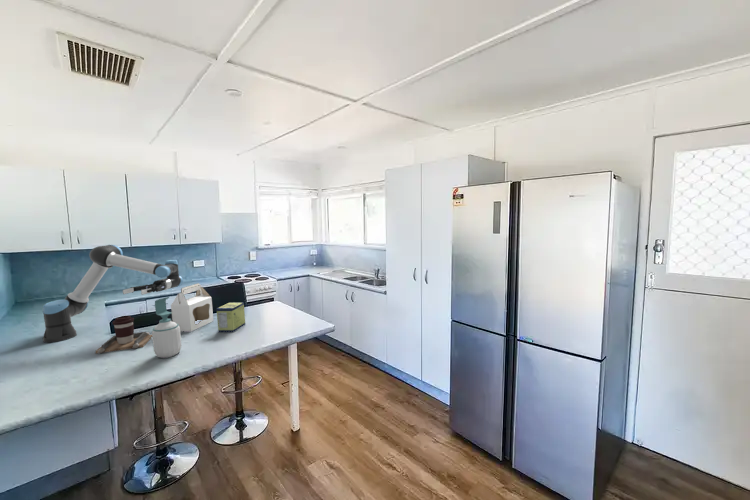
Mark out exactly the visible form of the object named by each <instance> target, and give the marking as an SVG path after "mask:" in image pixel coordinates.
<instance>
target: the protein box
mask: <svg viewBox="0 0 750 500" xmlns="http://www.w3.org/2000/svg"><path fill="white" fill-rule="evenodd" d="M216 317H217V319H216V320H217V329H218V331H217V332H218V333H235V332H236V331H238V330H239V329H241V328H242V327H244V326H246V315H245V303H244V302H241V301H240V302H235V301H233V302H228V303H226V304H224V305H221V306H219V307H216Z"/></svg>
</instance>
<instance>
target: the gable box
mask: <svg viewBox="0 0 750 500" xmlns="http://www.w3.org/2000/svg"><path fill="white" fill-rule="evenodd" d="M193 292H196V293H195V296H193V297H190V298H186V297H185V295H186V294H190V293H193ZM170 308H171V311H170V312H172V314H171V321H172V322H175V323H177V324H179V325H178V326H179V327H180V332H183V331H184V332H186V333H187V332H188V333H191V332H193V331H195V330H198V329H200V328H202V327H204V326H206V325H208V324H210V323H212V322H214V313H213V311H214V310H213V299H212V296H211V295H210V294H209V293H208V292H207V291H206V289H205V288H204V287H203V286H202V284H200V283H199V282H198V283H194V284H191V285H188V286H184V287H181V289H180V292H179V293H177V295H176V297H175V298H174V300H173V301H172V303H171V304H170ZM197 320H202V321H200V322H199V323H198V324H195V321H197Z"/></svg>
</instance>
